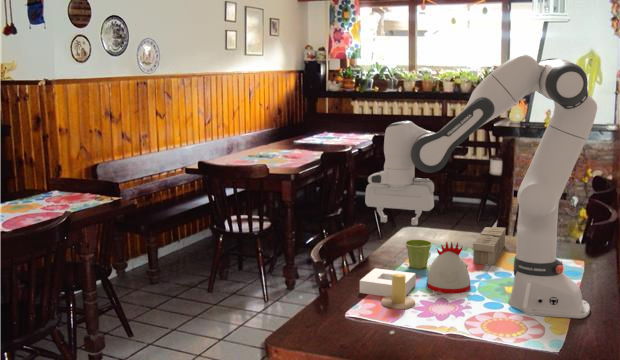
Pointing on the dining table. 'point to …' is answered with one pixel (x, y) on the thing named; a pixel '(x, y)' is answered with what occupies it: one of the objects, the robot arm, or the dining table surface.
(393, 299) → the dowel
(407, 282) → the pocket block
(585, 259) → the dining table surface
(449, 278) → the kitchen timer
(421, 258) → the plant pot
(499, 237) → the block tower
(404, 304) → the coaster
